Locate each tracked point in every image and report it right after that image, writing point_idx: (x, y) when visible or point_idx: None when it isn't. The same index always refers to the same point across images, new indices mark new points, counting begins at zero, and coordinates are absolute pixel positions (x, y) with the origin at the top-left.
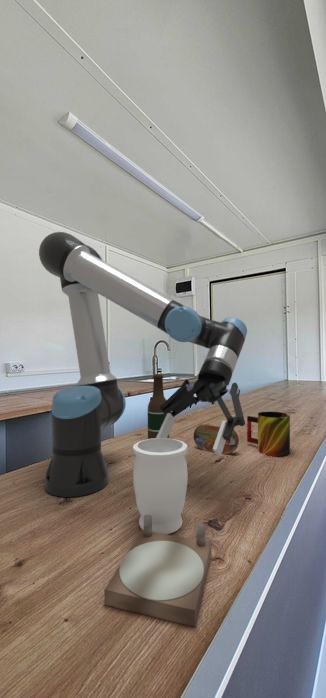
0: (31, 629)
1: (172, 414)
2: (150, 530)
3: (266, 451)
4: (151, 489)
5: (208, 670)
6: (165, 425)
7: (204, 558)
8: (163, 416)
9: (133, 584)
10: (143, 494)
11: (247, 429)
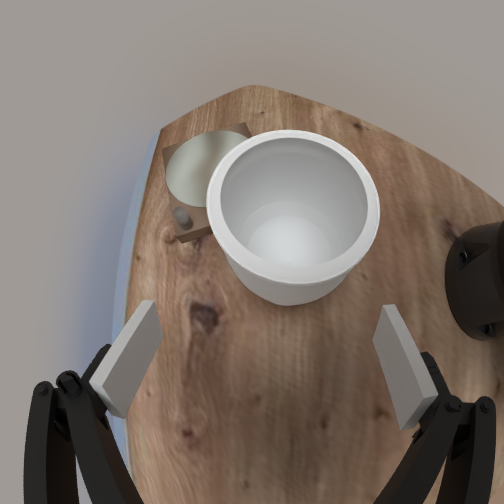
0: (277, 99)
1: (424, 432)
2: None
3: None
4: (269, 181)
5: (150, 142)
6: (400, 349)
7: (173, 203)
8: (446, 385)
9: (223, 135)
10: (288, 187)
11: None
